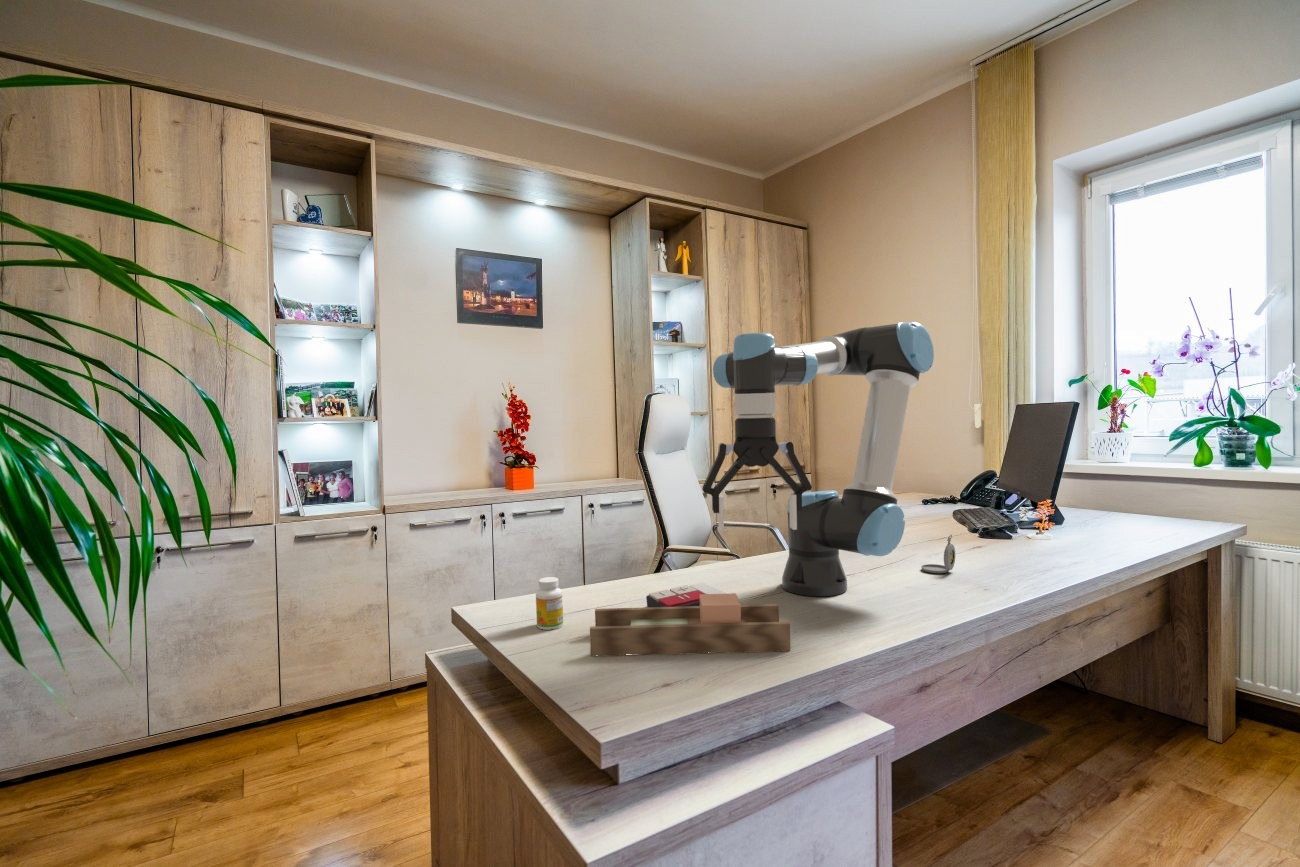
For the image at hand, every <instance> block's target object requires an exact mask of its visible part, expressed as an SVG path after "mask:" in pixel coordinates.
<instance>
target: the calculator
mask: <svg viewBox="0 0 1300 867" xmlns="http://www.w3.org/2000/svg"><path fill="white" fill-rule="evenodd" d="M700 594H727V593H726V592H724V591H722V590H720V589H718V588H715V587H714V586H712V585H710V584H707V583H705V582H699V583H693V584H691V585H689V584H688V585H687V584H685V585H681V586H677V587H671V588H669V589H663V590H659V591H654V592H650V593H648V595H646V607H684V606H700Z"/></svg>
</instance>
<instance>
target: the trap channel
mask: <svg viewBox="0 0 1300 867" xmlns="http://www.w3.org/2000/svg"><path fill="white" fill-rule="evenodd" d="M740 605H741V623H710V624H701V621H700V606H684V607H647V606H645V607H621V608H620V607H619V608H618V607H617V608H616V607H614V608H613V607H612V608H595V609H594V625H595V626H590V627H589V645H590V646H589V647H590V657H602V656H601V655H620V656H627V655H626V654H658V655H687V654H686V653H697V654H709V653H708V652H735V653H766V652H767V653H768V652H769V653H771V652H791V623H790V622H789V621H787V620H786V621H780V607H779V604H778V603H768V604H765V603H763V604H759V603H758V604H740ZM680 653H682V654H680ZM596 655H598V656H596Z"/></svg>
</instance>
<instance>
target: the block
mask: <svg viewBox="0 0 1300 867" xmlns="http://www.w3.org/2000/svg"><path fill="white" fill-rule="evenodd" d="M737 595H738V594H736V593H735V592H733V593H726V594H700V621H701V624H710V623H741V605H742V604H741V602H740V600H739V598H738V596H737Z"/></svg>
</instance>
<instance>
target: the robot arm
mask: <svg viewBox="0 0 1300 867" xmlns="http://www.w3.org/2000/svg"><path fill="white" fill-rule="evenodd" d="M929 333H930V332H929V331H928V330H927V328H925V326H923V325H922V324H921V323H919V322H917V321H911V322H910V321H909V322H897V323H893V324H892V323H891V324H885V325H876V326H868V327H859V328H855V329H851V330H847V331H845V332H841V333H837V334H834V335H827V336H824V337H822V338H820V339H819V340H818V341H812V342H805V343H797V344H789V345H783V346H781V345H779V346H778V345H776V344H775V339H774V336H773V334H771V333H769V332H749V333H741V334H739V335H736V337H735V338H734V340H733V351H731V352H728V353H723V354H721V355H718V357H717V358H716V359H715V360H714V363H713V367H712V371H713V372H712V373H713V378H714V381H715V382H716V384H718V385H719V386H720V387H722V388H725V389H734V415H735V416H737V418H735V420H734V434H735V435H734V437H735V438H734V439H735V440H734V443H733V444H729V443H727V444H726V443H724V442H720V443H719V444H718V449H717V455H716V457H715V460H714V462H713V464H712V466H711V468H710V469H709V470H710V471H709V473H708V475H707V477H706V479H705V481H704V483H703V484H702V487H701V489H702V491H703V493H705V494H708V495H710V496H711V507H712V508H711V509H712V512H713V514H717V516H718V517H717V518H718V519H717V520H718V522H717V523H718V531H719V532H724V531H725V526H724V524H725V523H724V522H725V518H724V517H725V516H724V512H725V511H724V496H723V495H722V494H721V493H722V492H723V491H724V489H725V488H726V486H728V484H729V483H730V482H731V481H732V480H733V478H734V477H735V476H736V475H737V473H738V472H739V471H740V470H741V469H742V468H743V466H746V467H747V468H749V467H750V468H751V467H752V468H753V467H756V466H757V467H766V466H768V465H770V467H771V468H773V470H774V471H775V473H776V474H778V475H779V477H780V478H781V479H782V480H783V481H784V483H786V485H787V486H788V487H789V488H790V489H791V490H792V491H793V492H789V498H788V504H787V505H788V506H787V524H788V525H787V528H788V530H787V532H788V534H787V535H788V557H787V561H786V563H785V567H784V570H783V572H782V578H781V586H782V589H783V590H785V591H787V592H788V593H790V594H791V593H792V594H795V595H800V596H806V597H833V596H838V595H841V594H844V593H845V592H847V590H848V579H847V576H846V573H845V570H844V568H843V565H842V561H841V557H840V551H845V552H850V553H855V554H860V555H863V556H873V557H884V556H887V555H889V554H891V553H892V552H893V551H895V549H896V548H897V547H898V545H900V542H901V541H902V539H903V535H904V532H905V526H906V521H905V512H904V511H903V509H902V508H901V506H899V505H898V497H897V496H896V494H895V493H894V492H893V486H894V480H895V475H896V474H895V473H896V469H897V468H896V467H897V464H898V458H899V452H900V448H901V447H900V446H901V440H902V434H903V429H904V423H905V418H906V410H907V406H908V401H909V395H910V391H911V389H913V388H915V387H916V386H917V385H918V384H919V380H920V375H921V374H925V373H926V372H928V371H930V370H931V368H932V367H933V364H934V360H935V359H934V357H935V356H934V355H935V354H934V352H935V351H934V346H933V345H934V344H933V341H932V339H931V338H932V337H931V336H930V334H929ZM820 374H822V375H824V376H828V377H829V376H830V377H832V376H841V375H842V376H844V375H845V376H846V375H847V376H865V379H866V380H867V381H868V383H869V384H870V386H869V392H868V396H867V402H866V403H867V404H866V408H865V412H864V413H865V414H864V416H863V417H864V419H863V424H862V428H861V433H860V440H859V446H858V448H857V455H856V460H855V464H854V465H855V466H854V471H853V476H852V481H851V483H850V484H848V485H847V486H846V487H844V488H843V491H842V492H843V493H842V496H841V498H839V497H840V495H839V493H838V491H837V490H819V491H811V490H812V488H813V487H812V486H813V485H812V484H811V482H810V480H809V479H808V476H807V475H806V473H805V471H804V468H803V467H802V466H801V463H800V461H799V459H798V458H797V456H796V454H795V448H794V447H795V446H794V442H792V441H788V440H787V441H785V442H779V443H778V441H777V432H776V430H777V429H776V424H777V423H776V419H775V417H773V415H775V414H776V394H775V393H776V387H777V386H800V385H807V384H809V383H811V382H812V381H813V380H814V379H815V377H816V375H820ZM732 451H733V453H734V454H735V455H736V456H737V458H736V459H735V461H734V462H733V463H732V465H731V466H730V467H729V469H728V470H727V471H726V472H725V473H724V475H723V476H722V477H721V478H720V479H719V481H718V482H717V483H716V484H715V486H714V487H713V484H714V482H715V480H716V478H717V476H718V474H719V471H720V470H721V467H722V466H723V464H724V460H726V456H729V455H730V453H731V452H732ZM778 451H781V453H783V454H784V455H785V456H786V458H787V459H788V462H789V464H790V466H791V467H792V469H793V472H794V473H795V475H796V476H797V479H798V481H799V483H800V485H799V484H798V483H797V482H796V481H795V480H794V479H793V477H791V475H790V474H789V473H788V472H787V471H786V469H784V467H783V466H781V464H780V463H779V461H778V460H777V459H775V455H776V454H777V453H778ZM809 491H810V492H809Z"/></svg>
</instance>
